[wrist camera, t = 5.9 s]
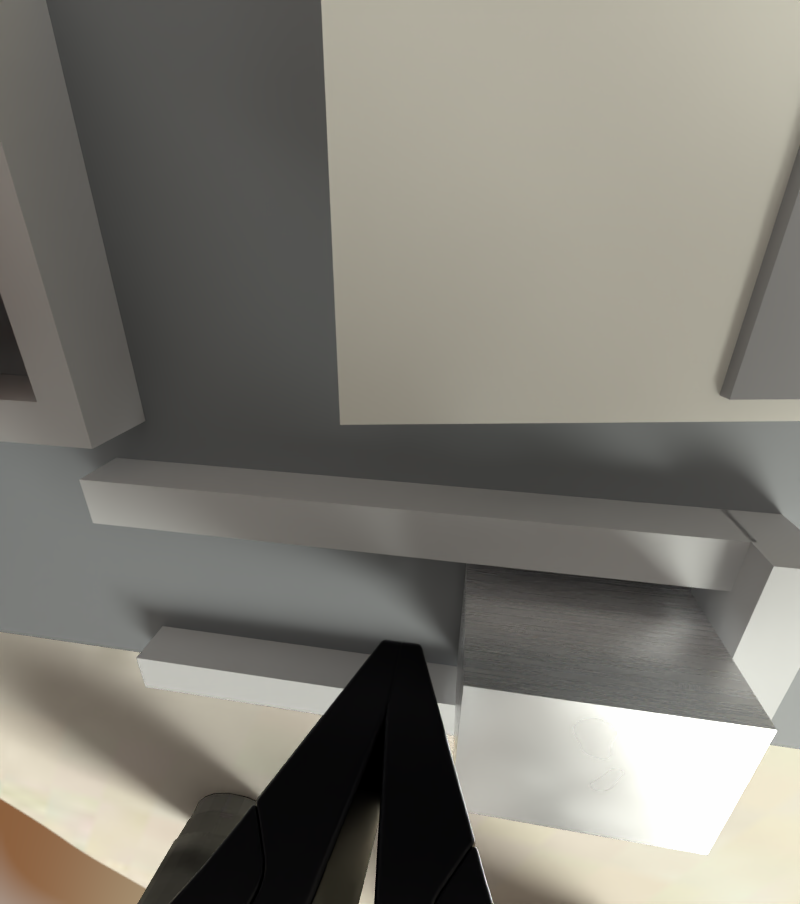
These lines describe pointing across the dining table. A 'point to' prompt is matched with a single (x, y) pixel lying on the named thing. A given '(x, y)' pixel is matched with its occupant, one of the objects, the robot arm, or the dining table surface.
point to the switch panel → (288, 397)
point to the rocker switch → (564, 210)
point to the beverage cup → (195, 845)
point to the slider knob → (600, 708)
